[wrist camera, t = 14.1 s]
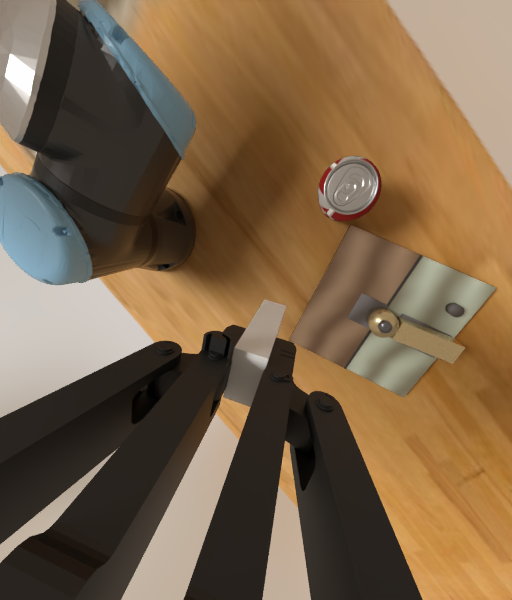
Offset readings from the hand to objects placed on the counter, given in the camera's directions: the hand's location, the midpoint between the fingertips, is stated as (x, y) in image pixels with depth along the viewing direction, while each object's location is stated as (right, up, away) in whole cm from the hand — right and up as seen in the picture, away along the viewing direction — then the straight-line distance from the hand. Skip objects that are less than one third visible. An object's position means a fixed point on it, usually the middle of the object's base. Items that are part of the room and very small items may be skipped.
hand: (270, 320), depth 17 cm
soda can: (+12, +17, +21) cm, 30 cm away
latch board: (+19, -1, +24) cm, 31 cm away
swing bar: (+23, -3, +22) cm, 32 cm away
